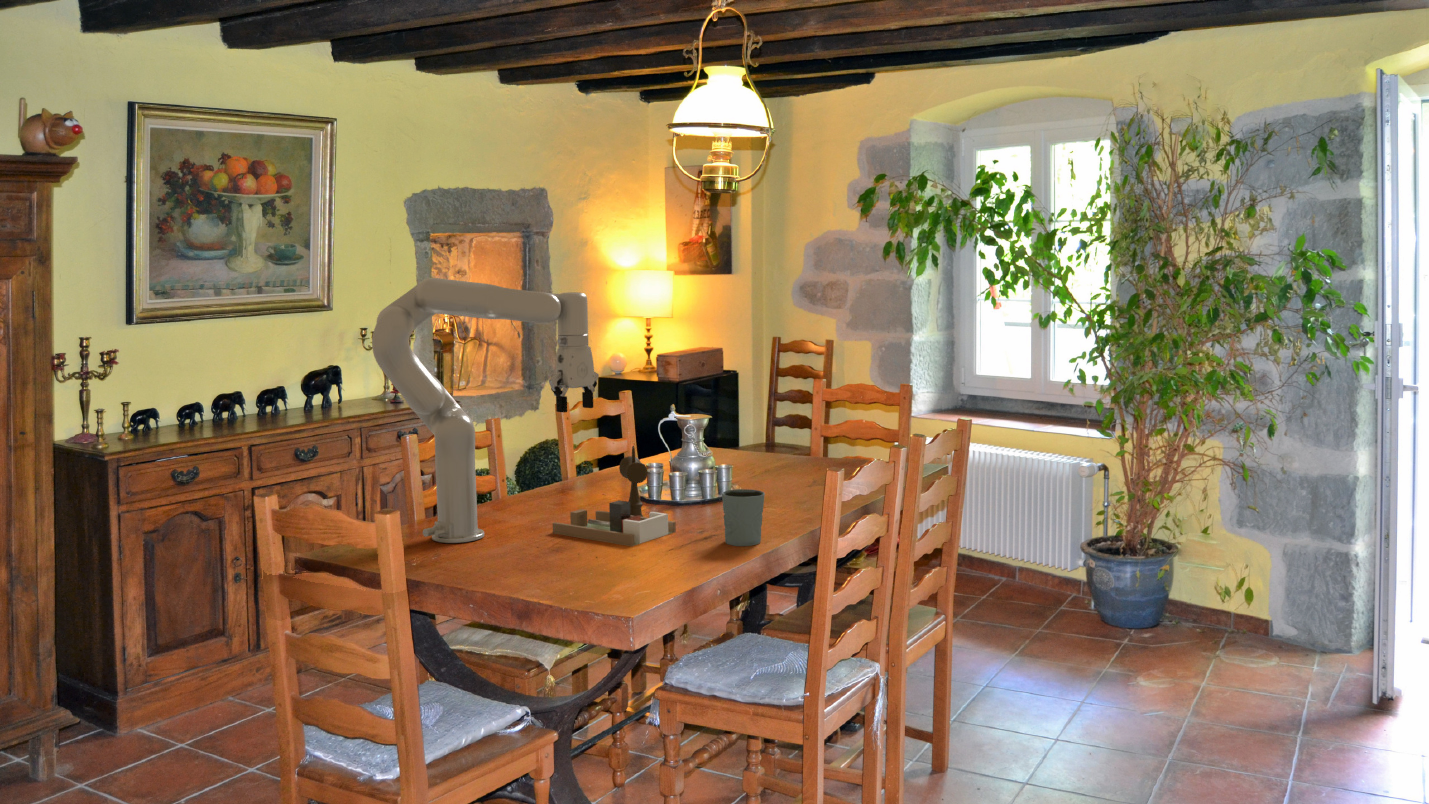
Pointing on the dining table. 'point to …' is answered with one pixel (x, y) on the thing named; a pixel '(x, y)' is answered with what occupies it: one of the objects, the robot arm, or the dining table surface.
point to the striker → (617, 516)
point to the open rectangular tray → (631, 533)
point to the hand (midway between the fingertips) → (575, 409)
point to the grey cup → (743, 516)
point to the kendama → (634, 480)
